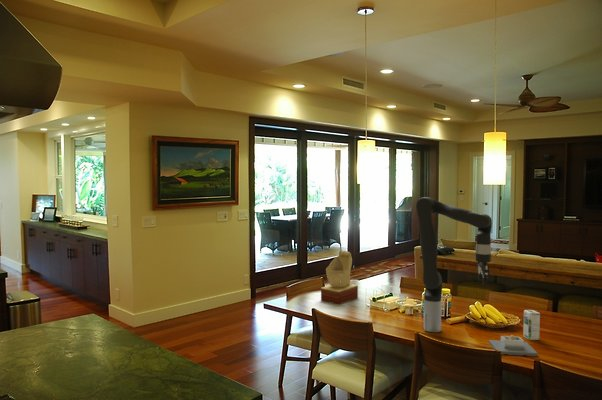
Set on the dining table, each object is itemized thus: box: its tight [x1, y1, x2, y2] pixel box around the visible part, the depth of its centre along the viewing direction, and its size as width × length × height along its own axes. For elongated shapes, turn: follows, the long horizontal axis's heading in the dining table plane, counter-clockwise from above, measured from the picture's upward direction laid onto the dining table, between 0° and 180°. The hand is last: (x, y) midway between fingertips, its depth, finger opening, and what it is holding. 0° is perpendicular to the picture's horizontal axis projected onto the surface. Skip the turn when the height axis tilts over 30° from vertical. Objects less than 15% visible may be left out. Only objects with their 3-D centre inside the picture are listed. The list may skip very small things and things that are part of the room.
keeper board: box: [488, 334, 538, 357], centre depth 212 cm, size 18×15×7 cm
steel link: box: [500, 335, 525, 349], centre depth 212 cm, size 9×6×4 cm, turn 81°
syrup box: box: [522, 309, 541, 341], centre depth 228 cm, size 6×6×14 cm
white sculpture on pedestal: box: [320, 248, 359, 305], centre depth 310 cm, size 25×18×35 cm
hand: (483, 283), depth 225 cm, fingers open, 8 cm apart
